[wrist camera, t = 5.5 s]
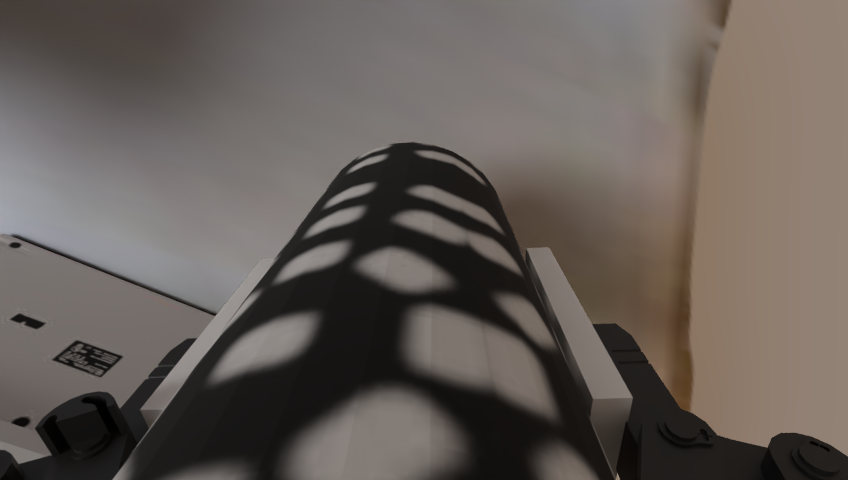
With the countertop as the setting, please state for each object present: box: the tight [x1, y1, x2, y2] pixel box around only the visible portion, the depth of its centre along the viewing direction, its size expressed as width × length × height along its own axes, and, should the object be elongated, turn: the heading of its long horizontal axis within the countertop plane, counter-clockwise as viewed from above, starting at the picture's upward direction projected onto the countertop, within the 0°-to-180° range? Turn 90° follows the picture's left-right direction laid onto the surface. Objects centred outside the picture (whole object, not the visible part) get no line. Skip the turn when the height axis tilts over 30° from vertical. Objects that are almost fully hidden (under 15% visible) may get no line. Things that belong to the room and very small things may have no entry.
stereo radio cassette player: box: [0, 234, 215, 464], centre depth 20 cm, size 21×8×20 cm, turn 64°
